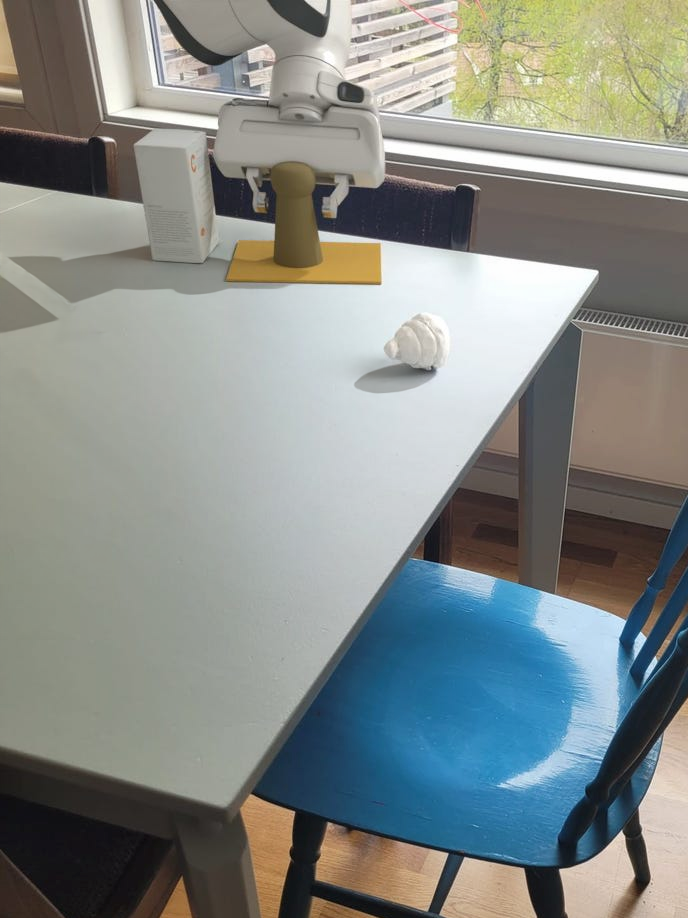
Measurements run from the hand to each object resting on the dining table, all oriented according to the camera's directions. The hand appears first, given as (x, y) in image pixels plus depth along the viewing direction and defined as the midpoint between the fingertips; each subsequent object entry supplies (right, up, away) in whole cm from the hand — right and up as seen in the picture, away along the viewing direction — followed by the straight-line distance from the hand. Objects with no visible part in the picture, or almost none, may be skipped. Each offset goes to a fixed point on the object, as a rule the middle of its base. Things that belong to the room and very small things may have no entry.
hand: (294, 212), depth 118 cm
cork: (0, -4, +4) cm, 6 cm away
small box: (-14, -3, +5) cm, 16 cm away
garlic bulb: (+15, -24, -18) cm, 34 cm away
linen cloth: (+1, -4, +4) cm, 6 cm away
